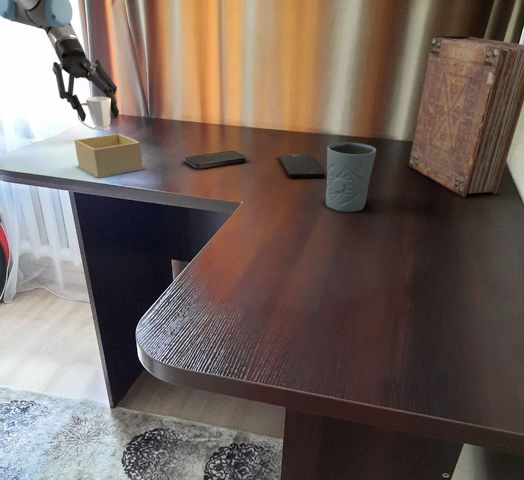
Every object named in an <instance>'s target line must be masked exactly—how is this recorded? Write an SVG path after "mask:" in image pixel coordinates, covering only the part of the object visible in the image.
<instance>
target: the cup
mask: <svg viewBox="0 0 524 480" xmlns="http://www.w3.org/2000/svg"><path fill="white" fill-rule="evenodd" d="M85 100H86V102H82V103H81V105H82V106H87V108H88V111H89V115H90V119H91V120H92V123H93V125H94V126H95V127H92V126H90V125H88V124H86V123H85V122H84V121H83V122H82V121H81V119H80V117H79V115H78V112H77V111H76V115H77V119H78V120H79V122H80V123H81V124H82V125H84V126H85V127H87V128H89V129H90V130H93V131H94V130H97V131H110V130H111V126H110V125H111V119H112V118H111V117H112V111H111V98H108V97H106V96H90V97H87V98H85Z"/></svg>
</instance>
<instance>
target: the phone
mask: <svg viewBox="0 0 524 480" xmlns="http://www.w3.org/2000/svg"><path fill="white" fill-rule="evenodd" d="M245 162H247V157H246V155H243V154H241V153H240V152H237V151H236V150H227V151H219V152H211V153H205V154H198V155H197V154H196V155H190V156H189V155H187V156H185V163H186V164H188V165H190V166H191V167H193V168H195V169H206V168H213V167H221V166H226V165H232V164H234V165H235V164H239V163H240V164H241V163H245Z"/></svg>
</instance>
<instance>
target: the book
mask: <svg viewBox="0 0 524 480" xmlns="http://www.w3.org/2000/svg"><path fill="white" fill-rule="evenodd" d="M422 84H423V85H422V91H421V95H420V102H419V106H418V112H417V118H416V124H415V128H414V135H413V139H412V145H411V151H410V156H409V162H408V167H409V168H411V169H413V170H414V171H417V172H418V173H420V174H422V175H423V176H425V177H426V178H428V179H430V180H432V181H434V182H435V183H437V184H439V185H440V186H442V187H444V188H446V189H448V190H449V191H451V192H453V193H455V194H457V195H458V196H460V197H461V198H465V197H466V196H467V195H473V194H482V193H490V194H493V195H496V194H497V193H498V191H499V186H500V184H501V181H502V176H503V173H504V170H505V166H506V163H507V159H508V157H509V153H510V151H511V146H512V143H513V139H514V136H515V133H516V129H517V126H518V123H519V120H520V116H521V112H522V110H523V106H524V44H523V43H522V44H521V43H514V42H507V41H501V40H494V39H486V38H480V37H472V36H465V35H464V36H456V35H455V36H441V35H438V36H435V35H434V36H432V38H431V41H430V46H429V52H428V56H427V63H426V69H425V73H424V80H423V83H422Z"/></svg>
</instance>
